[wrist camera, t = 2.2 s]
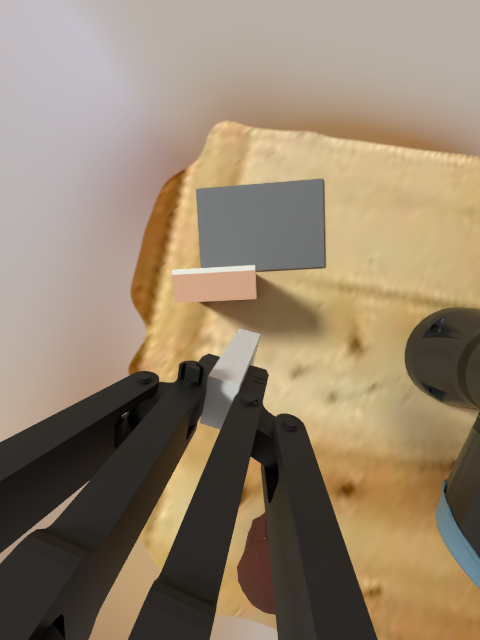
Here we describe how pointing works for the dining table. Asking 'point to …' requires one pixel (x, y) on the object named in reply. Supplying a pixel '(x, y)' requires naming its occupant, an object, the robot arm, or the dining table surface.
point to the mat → (262, 225)
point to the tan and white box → (214, 284)
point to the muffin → (257, 568)
